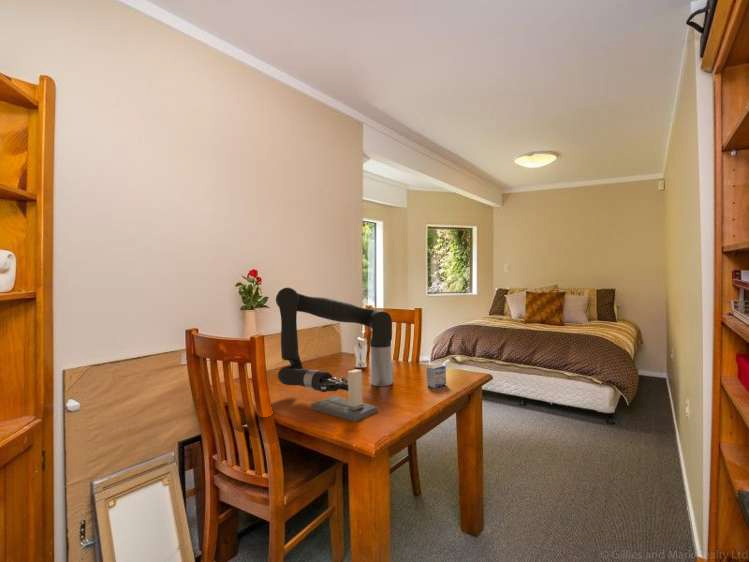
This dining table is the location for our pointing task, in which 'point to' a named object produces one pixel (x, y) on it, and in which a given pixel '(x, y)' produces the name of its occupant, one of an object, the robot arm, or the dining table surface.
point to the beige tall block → (355, 389)
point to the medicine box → (436, 376)
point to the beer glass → (360, 352)
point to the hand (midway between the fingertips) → (350, 387)
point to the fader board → (343, 408)
